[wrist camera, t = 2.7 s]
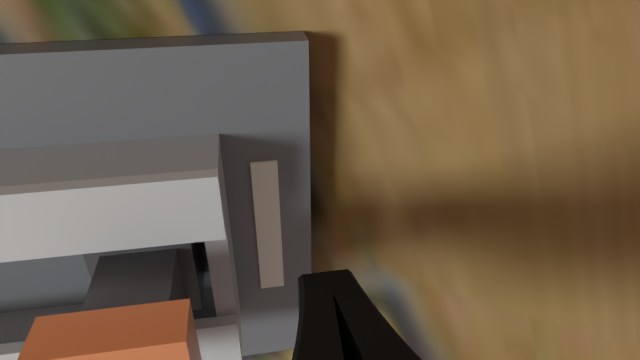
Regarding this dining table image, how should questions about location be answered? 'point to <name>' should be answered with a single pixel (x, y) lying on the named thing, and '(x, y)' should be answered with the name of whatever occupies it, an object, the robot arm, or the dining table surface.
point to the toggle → (129, 309)
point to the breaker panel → (166, 105)
